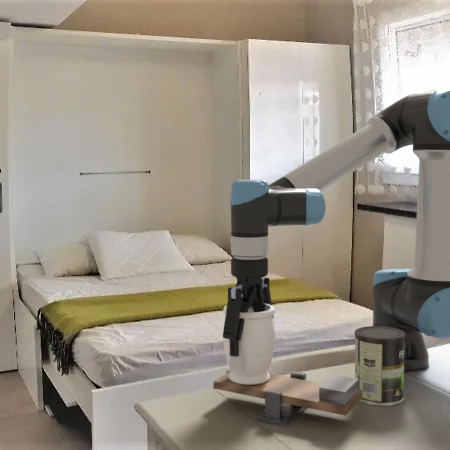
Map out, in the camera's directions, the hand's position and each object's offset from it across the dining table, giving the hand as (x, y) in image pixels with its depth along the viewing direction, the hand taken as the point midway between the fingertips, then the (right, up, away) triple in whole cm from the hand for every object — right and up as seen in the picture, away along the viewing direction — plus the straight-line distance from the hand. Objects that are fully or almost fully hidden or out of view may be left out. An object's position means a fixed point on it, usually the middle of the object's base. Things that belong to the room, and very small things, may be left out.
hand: (249, 363), depth 133 cm
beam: (+7, -4, -4) cm, 9 cm away
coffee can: (+27, -8, +4) cm, 29 cm away
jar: (0, -3, 0) cm, 4 cm away
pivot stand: (+7, -9, -3) cm, 12 cm away
